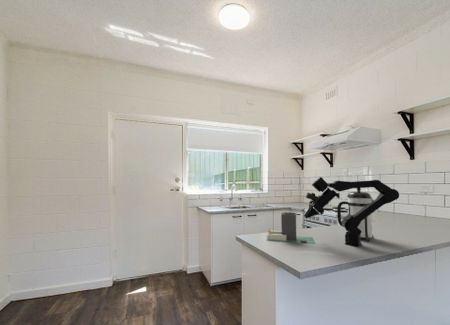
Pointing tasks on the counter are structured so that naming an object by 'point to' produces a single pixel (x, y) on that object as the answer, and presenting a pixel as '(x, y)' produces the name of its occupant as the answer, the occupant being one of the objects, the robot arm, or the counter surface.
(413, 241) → the counter surface
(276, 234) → the board
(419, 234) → the counter surface
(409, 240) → the counter surface
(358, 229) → the robot arm
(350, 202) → the coffee press
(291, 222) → the grey tall block
